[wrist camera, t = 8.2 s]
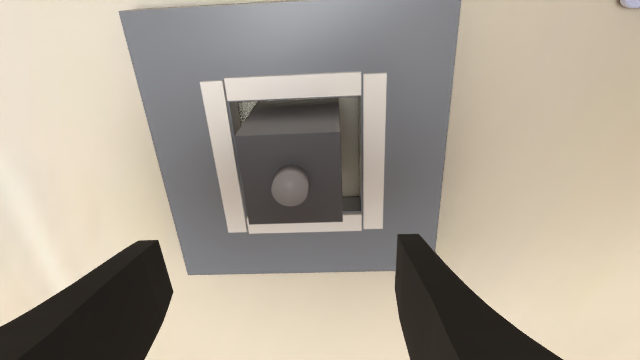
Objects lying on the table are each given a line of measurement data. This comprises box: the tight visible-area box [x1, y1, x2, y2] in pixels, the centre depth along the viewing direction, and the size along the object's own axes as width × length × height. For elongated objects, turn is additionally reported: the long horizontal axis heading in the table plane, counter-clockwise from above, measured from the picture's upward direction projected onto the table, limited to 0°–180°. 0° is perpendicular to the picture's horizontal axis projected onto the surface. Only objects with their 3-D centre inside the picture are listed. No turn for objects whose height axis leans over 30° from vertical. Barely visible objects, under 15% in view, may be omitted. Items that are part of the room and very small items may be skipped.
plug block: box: [235, 98, 343, 225], centre depth 17 cm, size 4×4×6 cm
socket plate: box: [119, 0, 461, 275], centre depth 19 cm, size 14×14×2 cm
